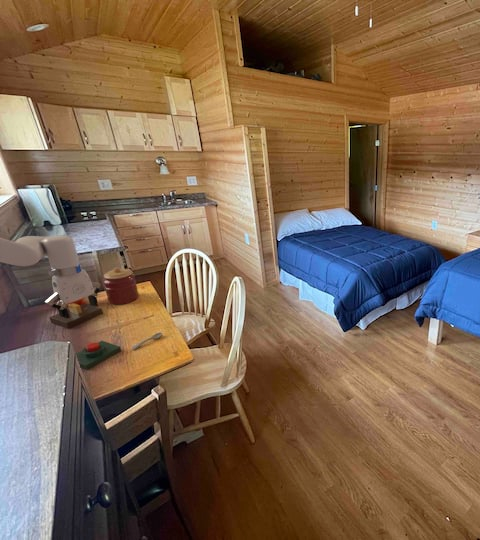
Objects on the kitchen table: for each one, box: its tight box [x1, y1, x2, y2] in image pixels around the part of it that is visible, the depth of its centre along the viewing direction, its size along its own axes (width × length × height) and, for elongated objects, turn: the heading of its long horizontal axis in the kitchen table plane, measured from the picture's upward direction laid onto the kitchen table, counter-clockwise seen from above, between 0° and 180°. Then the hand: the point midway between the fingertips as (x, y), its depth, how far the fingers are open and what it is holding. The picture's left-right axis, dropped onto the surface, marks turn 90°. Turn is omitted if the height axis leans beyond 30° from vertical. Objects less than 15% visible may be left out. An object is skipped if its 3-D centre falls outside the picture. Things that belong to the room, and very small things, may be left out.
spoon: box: [130, 332, 163, 351], centre depth 125 cm, size 3×12×2 cm, turn 153°
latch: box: [67, 303, 82, 315], centre depth 135 cm, size 6×2×4 cm, turn 71°
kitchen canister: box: [102, 266, 140, 305], centre depth 152 cm, size 13×13×18 cm
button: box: [85, 342, 100, 352], centre depth 113 cm, size 4×4×2 cm
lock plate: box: [48, 303, 104, 330], centre depth 136 cm, size 14×11×3 cm
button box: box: [75, 340, 122, 371], centre depth 114 cm, size 12×10×4 cm
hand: (80, 311), depth 114 cm, fingers open, 9 cm apart
